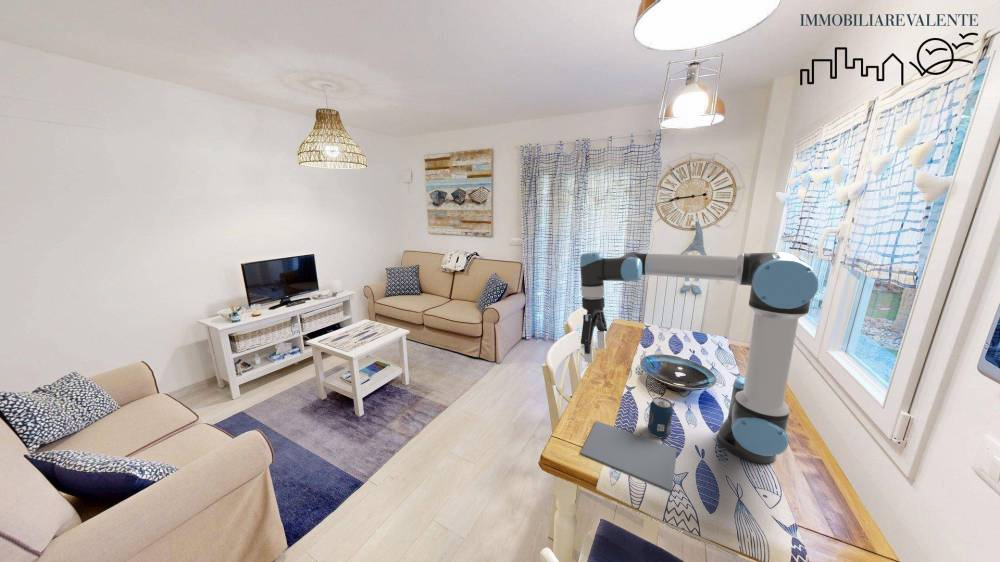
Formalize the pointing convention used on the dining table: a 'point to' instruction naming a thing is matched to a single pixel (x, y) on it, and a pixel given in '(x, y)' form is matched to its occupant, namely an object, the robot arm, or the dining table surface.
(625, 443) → the mat
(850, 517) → the dining table surface
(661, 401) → the soda can
